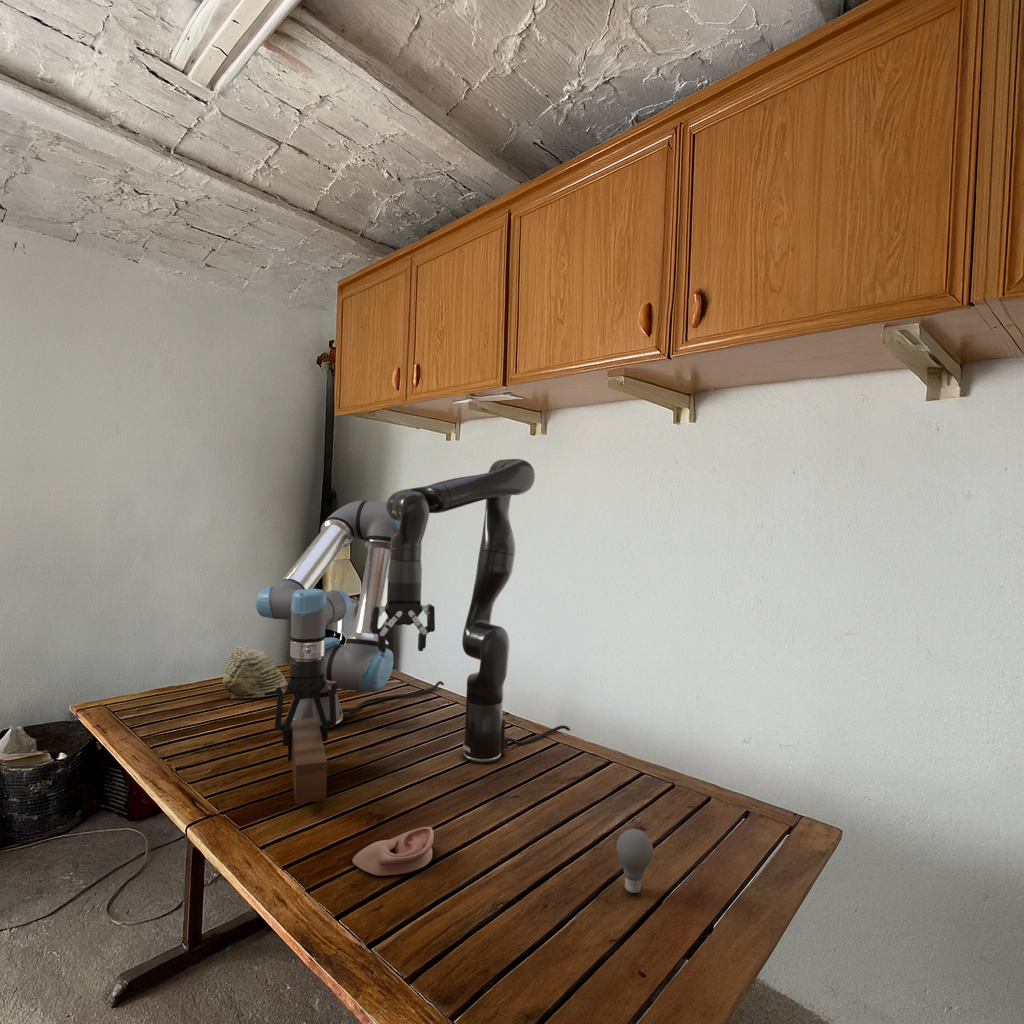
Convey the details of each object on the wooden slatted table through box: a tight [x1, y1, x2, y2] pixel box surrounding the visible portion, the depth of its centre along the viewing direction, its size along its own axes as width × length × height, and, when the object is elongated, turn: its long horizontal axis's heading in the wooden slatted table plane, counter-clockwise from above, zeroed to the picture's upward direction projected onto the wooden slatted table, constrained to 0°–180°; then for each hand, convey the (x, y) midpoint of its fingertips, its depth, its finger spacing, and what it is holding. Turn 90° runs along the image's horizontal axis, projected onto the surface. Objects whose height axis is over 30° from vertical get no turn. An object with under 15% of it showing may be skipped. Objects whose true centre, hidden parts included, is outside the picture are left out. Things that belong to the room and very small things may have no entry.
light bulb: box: [615, 828, 654, 894], centre depth 106 cm, size 6×6×10 cm
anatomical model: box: [351, 826, 435, 877], centre depth 112 cm, size 13×4×12 cm
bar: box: [290, 718, 328, 805], centre depth 138 cm, size 25×6×8 cm, turn 21°
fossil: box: [222, 646, 287, 699], centre depth 198 cm, size 9×18×15 cm, turn 132°
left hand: (304, 756), depth 146 cm, fingers closed on bar, 6 cm apart
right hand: (401, 651), depth 143 cm, fingers open, 8 cm apart
